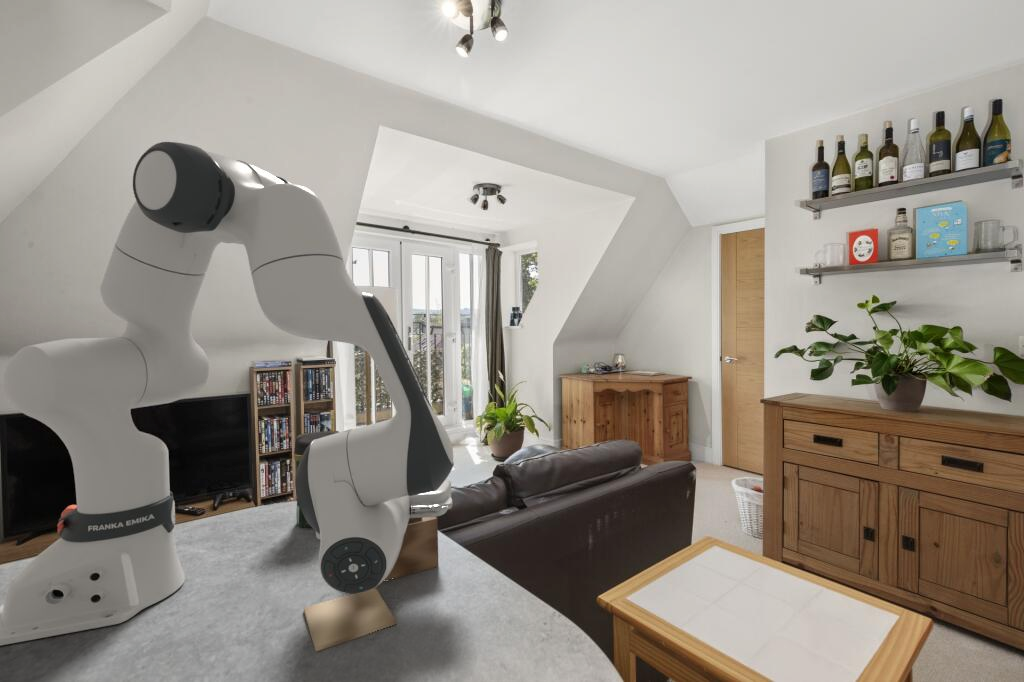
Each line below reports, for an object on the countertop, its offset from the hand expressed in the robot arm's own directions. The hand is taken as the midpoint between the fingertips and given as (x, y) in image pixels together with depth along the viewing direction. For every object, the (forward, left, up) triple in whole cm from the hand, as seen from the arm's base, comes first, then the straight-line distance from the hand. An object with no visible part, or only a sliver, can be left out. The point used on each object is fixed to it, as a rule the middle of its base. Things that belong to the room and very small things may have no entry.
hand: (392, 482), depth 82 cm
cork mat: (-10, -13, -14) cm, 21 cm away
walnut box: (0, -1, -14) cm, 14 cm away
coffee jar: (-7, +26, -14) cm, 31 cm away
